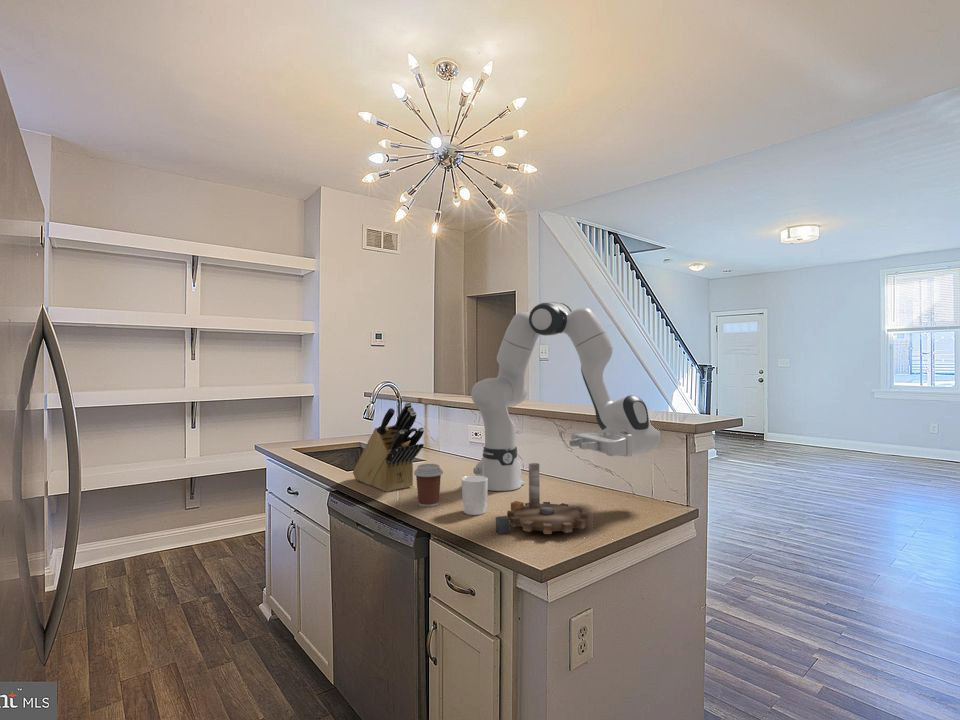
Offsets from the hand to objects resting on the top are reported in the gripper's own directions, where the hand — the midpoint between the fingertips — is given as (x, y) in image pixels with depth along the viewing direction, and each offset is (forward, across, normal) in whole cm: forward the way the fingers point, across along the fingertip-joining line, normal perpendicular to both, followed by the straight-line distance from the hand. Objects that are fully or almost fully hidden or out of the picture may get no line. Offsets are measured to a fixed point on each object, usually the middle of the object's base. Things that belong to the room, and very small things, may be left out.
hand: (575, 444), depth 150 cm
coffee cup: (+37, -27, +20) cm, 50 cm away
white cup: (+27, -13, +20) cm, 36 cm away
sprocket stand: (+20, +7, +20) cm, 29 cm away
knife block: (+44, -55, +20) cm, 73 cm away
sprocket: (+14, +7, +18) cm, 24 cm away
